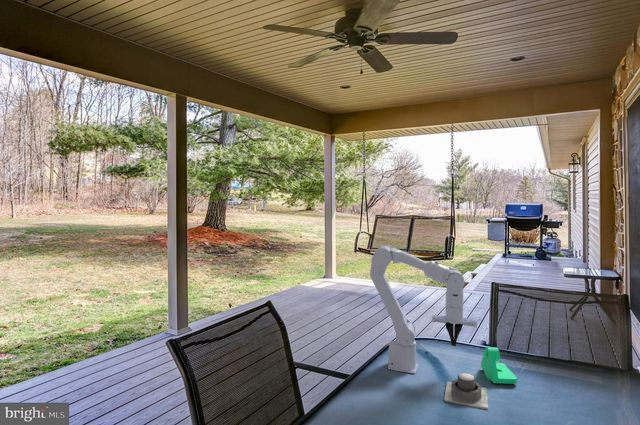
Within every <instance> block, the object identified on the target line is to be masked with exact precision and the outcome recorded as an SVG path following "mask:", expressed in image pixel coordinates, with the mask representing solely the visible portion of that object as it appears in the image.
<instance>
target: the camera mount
mask: <svg viewBox="0 0 640 425" xmlns="http://www.w3.org/2000/svg"><path fill="white" fill-rule="evenodd" d="M500 359H501V354H500V350H499V348H498V347H492V346H486V347H485V349H484V352H483V356H482V358H481V361H480V368H481V369H482V370H483V371H484V375H485V377H486V378H487V379H488V380H489V381H492V383H493V384H510V385H511V384H513V385H514V384H515V385H516V384H518V378H517V376H516V375H515V374H514V373H513V372H512V370H510V368H508V366H507V365H506V364H505V363H504V362H503V363H502V362H500Z"/></svg>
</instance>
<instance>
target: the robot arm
mask: <svg viewBox="0 0 640 425" xmlns="http://www.w3.org/2000/svg"><path fill="white" fill-rule="evenodd" d="M370 260H371V261H370V262H371V264H370V270H369V271H370V272H369V276H370V279H371V280H372V283H373V285H374V286H375V288H376V291H377V293H378V295H379V296H380V298H381V301H382V302H383V305H384V307H385V309H386V312H387V313H388V315H389V318H390V319H391V321H392V325H393V326H392V327H393V329H394V331H395V340H391V341H389V346H388V367H387V369H388V370H390V369H391V371H397V372H402V373H409V374H413V375H415V374H417V370H418V367H419V363H417V341H416V340H415V339H416V338H415V336H416V335H415V334H416V326H415V325H414V323H413V322H411V320H409V318H408V317H407V315H406V314H405V313H404V311H403V308H402V306H401V304H400V303H399V300H398V299H397V297H396V294H395V293H394V290H393V289H392V287H391V285H390V282H389V280H388V278H387V277H386V275H385V273H386V271H387V268H388V266H389V265H390V264H391V262H392V264H399V263H402V264H405V265H408V266H410V267H412V268H415V269H417V270H421V271H422V272H423V273H424V276H425V277H427V278H430V279H432V280H435V281H437V282H439V283H441V284H445V285H446V290H445V315H436V314H435V315H432V316H431V323H441V324H442V323H443V324H445V329H446V331H447V333H448V336H449V339H450V343H451V346H452V347H456V346H457V341H458V338H459V335H460V333H461V331H462V329H463V326H467V327H473V328H478V327H477V326H478V320H477V319H472V318H467V317H464V287H465V284H466V281H465V278H464V275H463V274H462V272H460V270H457V269H456V268H453V267H452V266H449V267H448V266H446V265H443V264H440V262H439V261H438V260H435V261H434V260H429V261H425V260H422V259H421V258H418V257H416V256H414V255H413V254H410V253H408V252H405V251H404V250H402V249H399V248H395V247H391V246H389V245H380V246H379V247H378V248H377V249H376V250H375V251H374V253H373V255H372V257H371V259H370Z"/></svg>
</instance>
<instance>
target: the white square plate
mask: <svg viewBox="0 0 640 425" xmlns="http://www.w3.org/2000/svg"><path fill="white" fill-rule="evenodd" d="M488 400H489V399H488V388H487V387H482V386H481V385H480V383H478V382H476V381H475V391H466V390H462V389H460V388H458V378H457V379H454V380H452V381H446V384H445V393H444V398H443V401H444V402H447V403H451V404H457V405H462V406H467V407H472V408H477V409H478V408H479V409H481V410H482V409H483V410H489V401H488Z"/></svg>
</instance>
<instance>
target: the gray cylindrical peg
mask: <svg viewBox="0 0 640 425" xmlns="http://www.w3.org/2000/svg"><path fill="white" fill-rule="evenodd" d="M457 379H458V388H460V389H462V390H466V391H475V382H476V378H475V376H474V375H473V374H470V373H466V372H462V373H459V374H458V375H457Z"/></svg>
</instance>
